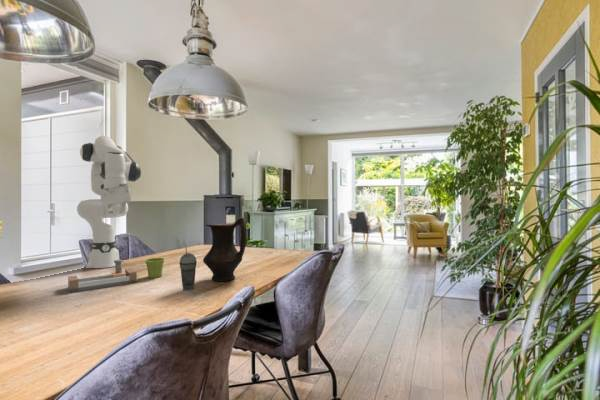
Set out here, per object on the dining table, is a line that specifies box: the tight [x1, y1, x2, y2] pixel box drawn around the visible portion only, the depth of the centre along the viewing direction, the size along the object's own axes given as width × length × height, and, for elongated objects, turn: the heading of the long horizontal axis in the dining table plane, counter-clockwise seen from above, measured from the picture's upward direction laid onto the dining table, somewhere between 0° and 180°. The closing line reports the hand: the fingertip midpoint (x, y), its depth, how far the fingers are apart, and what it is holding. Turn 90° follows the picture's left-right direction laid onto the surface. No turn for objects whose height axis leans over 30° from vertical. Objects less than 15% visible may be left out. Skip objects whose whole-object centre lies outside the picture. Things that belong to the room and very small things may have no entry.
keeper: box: [110, 259, 126, 278], centre depth 160 cm, size 7×5×9 cm
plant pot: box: [144, 257, 166, 279], centre depth 172 cm, size 9×9×9 cm
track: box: [67, 268, 138, 293], centre depth 157 cm, size 10×26×5 cm, turn 127°
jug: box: [202, 216, 247, 282], centre depth 165 cm, size 21×18×30 cm
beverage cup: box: [178, 242, 198, 292], centre depth 148 cm, size 7×7×20 cm
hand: (116, 213), depth 164 cm, fingers open, 8 cm apart
